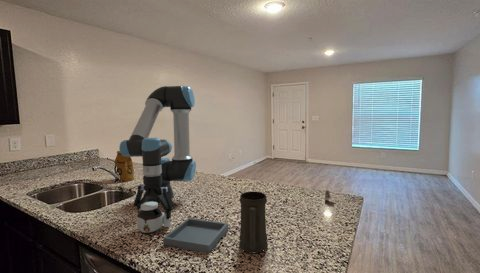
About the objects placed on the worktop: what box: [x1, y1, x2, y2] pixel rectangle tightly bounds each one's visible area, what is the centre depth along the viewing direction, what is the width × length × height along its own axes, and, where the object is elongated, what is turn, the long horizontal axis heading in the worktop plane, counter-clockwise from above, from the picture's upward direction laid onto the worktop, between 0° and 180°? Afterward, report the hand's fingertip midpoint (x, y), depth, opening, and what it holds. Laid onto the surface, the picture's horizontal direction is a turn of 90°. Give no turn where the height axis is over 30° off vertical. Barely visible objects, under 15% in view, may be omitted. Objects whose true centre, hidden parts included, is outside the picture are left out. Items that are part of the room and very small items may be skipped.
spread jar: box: [136, 201, 172, 236], centre depth 110 cm, size 12×11×12 cm
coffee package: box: [114, 150, 135, 183], centre depth 190 cm, size 10×12×22 cm
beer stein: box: [238, 191, 269, 253], centre depth 93 cm, size 15×11×20 cm
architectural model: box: [324, 189, 333, 203], centre depth 140 cm, size 3×7×7 cm, turn 157°
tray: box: [162, 217, 229, 254], centre depth 103 cm, size 19×19×3 cm
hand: (154, 224), depth 110 cm, fingers closed on spread jar, 12 cm apart
